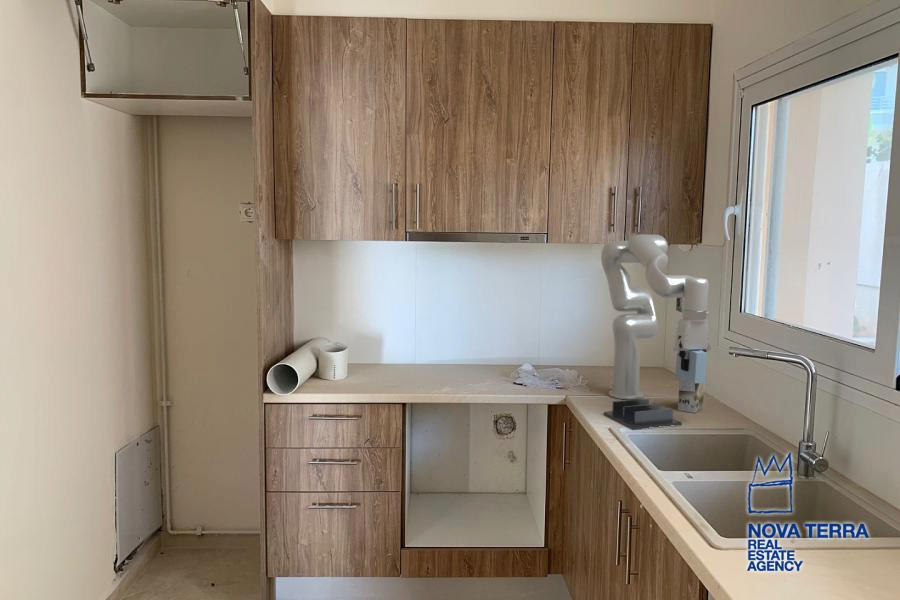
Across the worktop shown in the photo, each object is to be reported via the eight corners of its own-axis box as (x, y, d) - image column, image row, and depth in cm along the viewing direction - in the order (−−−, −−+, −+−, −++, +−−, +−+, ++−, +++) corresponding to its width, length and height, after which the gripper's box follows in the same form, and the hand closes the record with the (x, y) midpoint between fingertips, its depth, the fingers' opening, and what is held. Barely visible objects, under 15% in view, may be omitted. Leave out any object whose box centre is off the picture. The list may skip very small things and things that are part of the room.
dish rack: (603, 414, 217) (604, 400, 217) (648, 410, 223) (649, 397, 222) (633, 429, 200) (634, 414, 200) (681, 425, 206) (682, 410, 205)
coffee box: (695, 413, 220) (698, 368, 218) (677, 410, 224) (679, 365, 222) (704, 408, 227) (706, 364, 226) (686, 405, 231) (688, 361, 230)
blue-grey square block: (675, 376, 215) (677, 347, 213) (685, 375, 216) (687, 346, 215) (694, 383, 205) (696, 353, 204) (705, 382, 206) (707, 352, 205)
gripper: (707, 313, 214) (704, 366, 216) (665, 314, 209) (662, 368, 211) (723, 316, 207) (719, 371, 209) (679, 317, 202) (676, 373, 204)
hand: (690, 369), depth 210 cm, fingers closed on blue-grey square block, 4 cm apart
